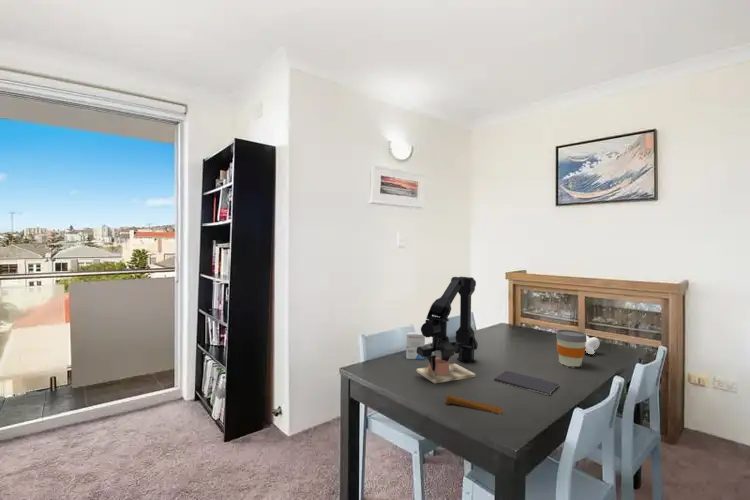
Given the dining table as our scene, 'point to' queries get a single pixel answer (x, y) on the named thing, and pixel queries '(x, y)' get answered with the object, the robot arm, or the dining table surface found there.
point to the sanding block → (440, 367)
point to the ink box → (414, 345)
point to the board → (454, 374)
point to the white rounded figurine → (591, 344)
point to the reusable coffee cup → (570, 347)
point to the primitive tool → (473, 404)
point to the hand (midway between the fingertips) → (438, 370)
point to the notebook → (526, 382)
